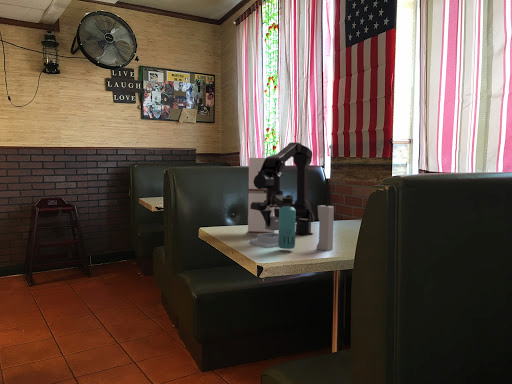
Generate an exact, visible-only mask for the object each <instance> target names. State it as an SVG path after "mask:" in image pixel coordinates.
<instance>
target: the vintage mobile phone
mask: <svg viewBox="0 0 512 384" xmlns="http://www.w3.org/2000/svg"><path fill="white" fill-rule="evenodd" d="M329 188H330V187H329V184H326V199H325V200H326V201H325V204H324V205H317V219H318V222H319V224H318V225H319V228H318V242H317V244H316V249H317V250H320V251H327V252H328V251H332V250H333V249H334V245H333V244H334V220H335V219H334V213H335V207H334V205H329Z"/></svg>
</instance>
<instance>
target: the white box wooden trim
mask: <svg viewBox="0 0 512 384" xmlns="http://www.w3.org/2000/svg"><path fill="white" fill-rule="evenodd" d="M265 158H266V157H248V196H247V197H248V199H247V201H248V203H247V204H248V206H247V209H248V210H247V237H248V236H249V237H257V234H262V233H272V232H274V233H275V230H274V231H272V230H268V229H265V220H264V218H263V216H262V214H261V212H260V211H258V210H254V209H250V208H251V203H252V202H264V200H266V193H264V190H266V189H258V188H256V187H255V185H254V178H255V176H256V175H258V171H260V170H261V167H262V165H263V163H264V161H265ZM274 208H276V207H271V208H270V210H272V212H271V214H270V216H274Z"/></svg>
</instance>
